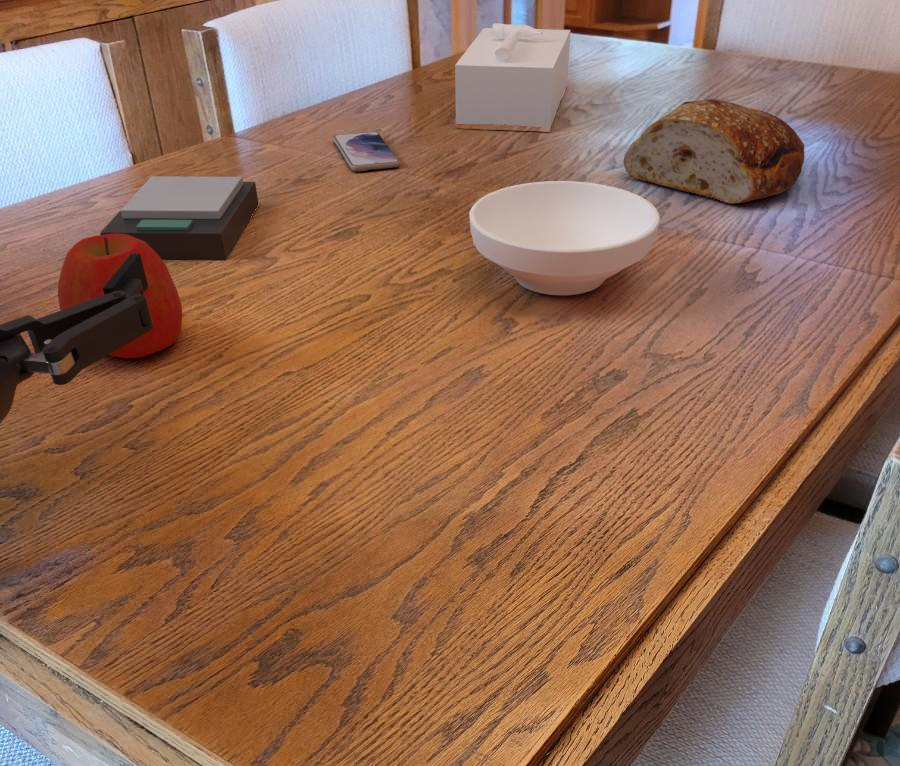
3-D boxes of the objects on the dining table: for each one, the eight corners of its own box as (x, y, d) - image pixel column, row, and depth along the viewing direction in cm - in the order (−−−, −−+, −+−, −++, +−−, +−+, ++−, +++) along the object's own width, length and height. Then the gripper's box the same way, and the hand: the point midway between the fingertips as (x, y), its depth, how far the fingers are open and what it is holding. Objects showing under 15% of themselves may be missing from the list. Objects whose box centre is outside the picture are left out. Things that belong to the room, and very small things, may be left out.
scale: (107, 258, 104) (97, 223, 101) (152, 205, 116) (145, 172, 114) (225, 259, 103) (219, 224, 101) (259, 206, 116) (253, 173, 113)
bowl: (432, 277, 99) (430, 210, 94) (559, 231, 108) (563, 168, 103) (559, 340, 88) (564, 268, 83) (688, 283, 97) (700, 215, 92)
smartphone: (378, 131, 135) (401, 161, 125) (378, 137, 136) (401, 168, 125) (331, 134, 134) (351, 166, 123) (332, 140, 134) (351, 172, 124)
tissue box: (566, 88, 154) (571, 13, 146) (549, 132, 136) (553, 49, 128) (483, 85, 156) (484, 11, 149) (455, 128, 138) (454, 47, 131)
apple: (57, 367, 85) (18, 257, 78) (106, 316, 93) (75, 211, 86) (164, 375, 84) (135, 262, 77) (205, 322, 92) (182, 215, 85)
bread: (616, 178, 121) (625, 95, 114) (700, 147, 129) (712, 68, 123) (745, 218, 109) (763, 129, 103) (827, 182, 118) (849, 97, 111)
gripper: (-222, 450, 61) (-69, 312, 77) (134, 457, 60) (217, 314, 75) (-285, 348, 56) (-108, 222, 72) (102, 353, 55) (198, 223, 70)
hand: (59, 269), depth 74 cm, fingers open, 13 cm apart
